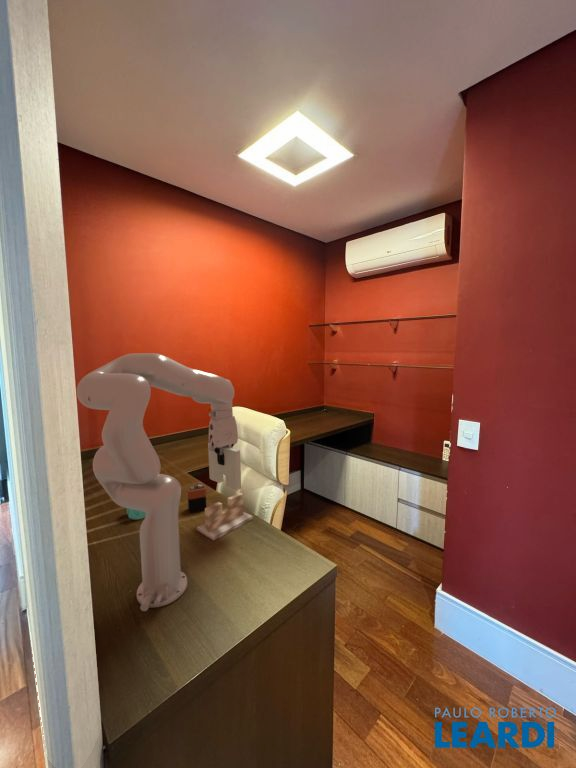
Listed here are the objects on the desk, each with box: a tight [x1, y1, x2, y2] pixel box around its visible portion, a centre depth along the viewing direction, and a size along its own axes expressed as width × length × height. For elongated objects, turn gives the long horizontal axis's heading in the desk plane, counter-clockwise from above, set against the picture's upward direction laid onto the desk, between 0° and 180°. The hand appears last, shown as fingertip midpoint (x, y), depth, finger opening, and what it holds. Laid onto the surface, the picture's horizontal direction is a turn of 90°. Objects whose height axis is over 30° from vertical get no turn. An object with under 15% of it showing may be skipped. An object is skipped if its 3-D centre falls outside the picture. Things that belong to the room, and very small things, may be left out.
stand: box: [196, 492, 254, 541], centre depth 115 cm, size 18×10×9 cm, turn 140°
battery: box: [186, 483, 207, 514], centre depth 126 cm, size 4×7×10 cm, turn 113°
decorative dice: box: [125, 508, 146, 521], centre depth 123 cm, size 8×8×8 cm
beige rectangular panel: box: [207, 442, 242, 491], centre depth 113 cm, size 2×16×14 cm, turn 49°
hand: (224, 462), depth 113 cm, fingers closed on beige rectangular panel, 2 cm apart
